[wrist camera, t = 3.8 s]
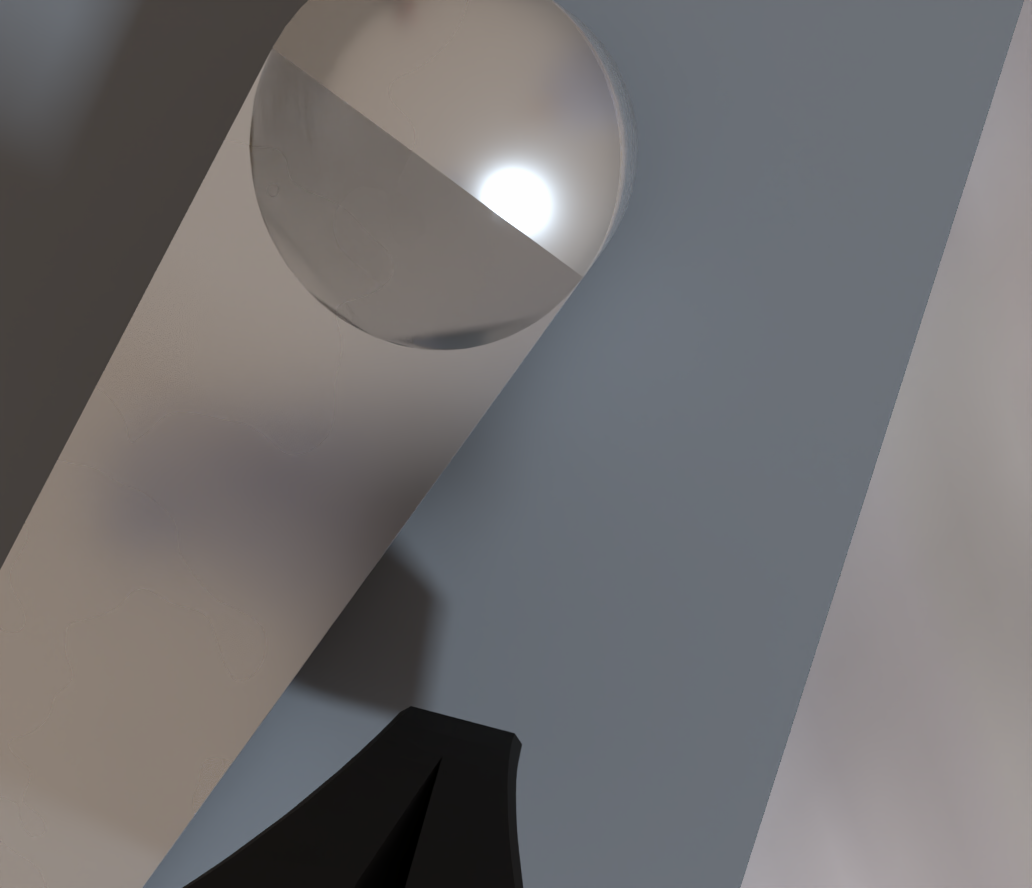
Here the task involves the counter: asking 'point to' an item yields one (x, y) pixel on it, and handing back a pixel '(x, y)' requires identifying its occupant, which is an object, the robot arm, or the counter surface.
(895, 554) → the counter surface
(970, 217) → the counter surface
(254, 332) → the swing link
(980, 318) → the counter surface
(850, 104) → the mat
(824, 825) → the counter surface
